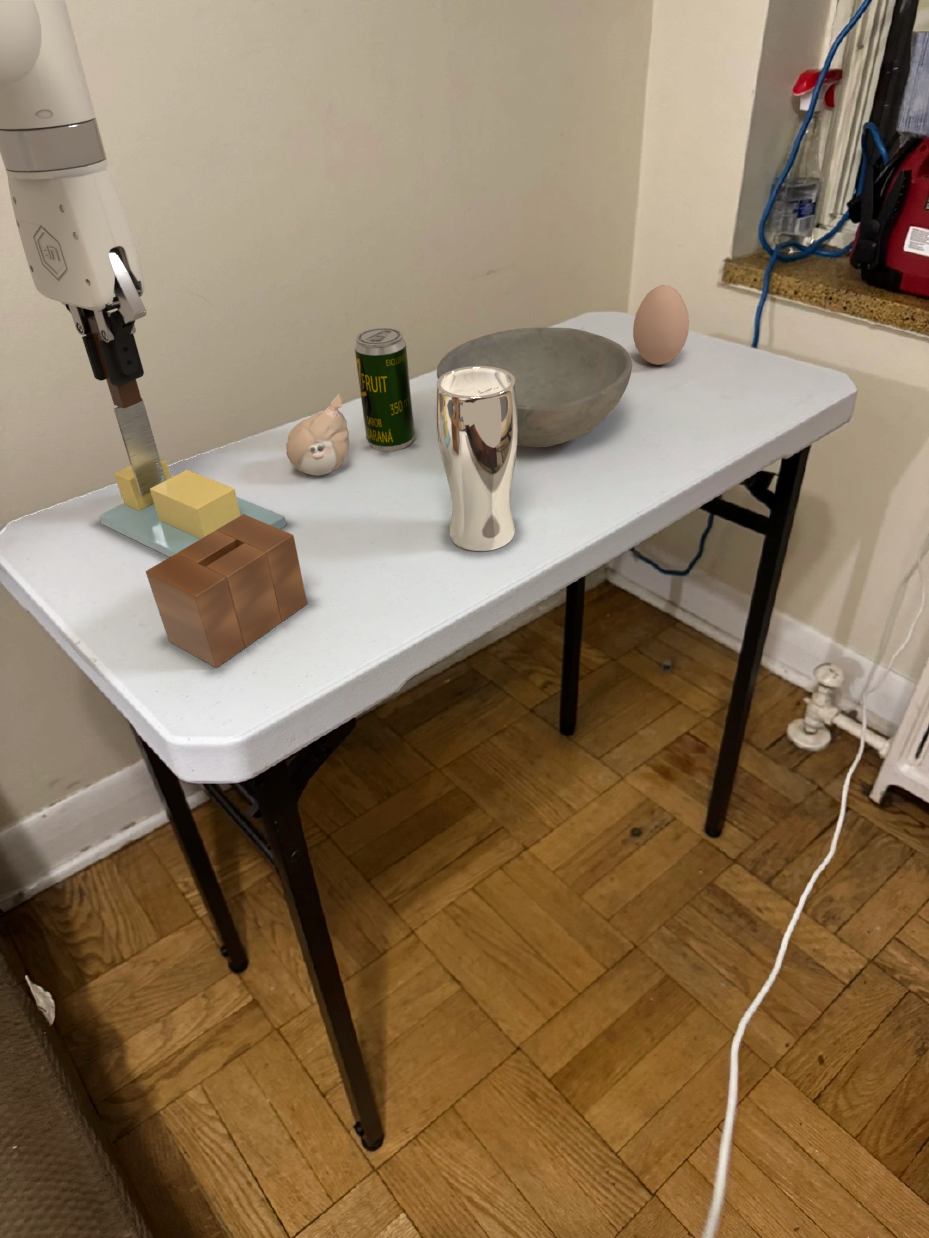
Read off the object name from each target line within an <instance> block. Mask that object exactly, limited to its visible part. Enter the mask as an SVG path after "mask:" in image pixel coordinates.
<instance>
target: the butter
mask: <svg viewBox="0 0 929 1238" xmlns="http://www.w3.org/2000/svg"><path fill="white" fill-rule="evenodd" d="M150 492H151V495H152V498H153V501H154V504H155V508H156V511H157V514H158V517H159V520H160V521H162V522H165V523H167V524H169V525H171V526H173V527H176V528H178V529H180V530H182V531H184V532H187V533H189V534H191V535H193V536H195V537H197V538H200V539H202V538H203V537H205V536H207V535H209V534H210V533H212V532H214V531H216V530H217V529H219V528H220V527H222V526H224V525H226V524H227V523H229V522H231V521H233V520H234V519H236V518H238V517H239V516H241V514H240V510H239V506H238V502H237V498H236V497H237V494H236V489H235V487H232V486H229V485H227V484H225V483H222V482H219V481H217V480H214V479H212V478H209V477H207V476H204V475H201V474H199V473H198V472H194V471H192V470H189V469H185V470H183V471H182V472H180V473H177V474H176V475H174V476H171V478H170V479H168V480H166V481H164V482H162V483H160V484H158V485H156V486H154V487H152V488H150Z"/></svg>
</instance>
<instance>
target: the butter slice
mask: <svg viewBox="0 0 929 1238" xmlns="http://www.w3.org/2000/svg"><path fill="white" fill-rule="evenodd" d="M160 461H161V465H162V468H163V472H164V475H165V479H166V480H168V479H170V478H172V476H171V472H170V468H169V465H168V462H167V461H166V460H163V459H162V458H160ZM113 475H114V479H115V481H116V484H117V487H118V490H119V493H120V496H121V499H122V503H124V504H125V505H127V506H129V507H132V508H134V509H136V510H138V511H140V510H142V509H144V508H145V507H147V506H149V505H151V504H153V503H154V501H153V498H152V495H151V492H149V493H147V494H145V495H143V496H141V495H140V493H139V490H138V486H137V483H136V480H135V477H134V473H133V470H132V467H131V465H128V466H126V467H125V468H122V469H120V470H118V471H116V472H114V473H113Z"/></svg>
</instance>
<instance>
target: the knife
mask: <svg viewBox="0 0 929 1238" xmlns="http://www.w3.org/2000/svg"><path fill="white" fill-rule="evenodd" d="M107 313H108V316H109V317H110V315H111V312H110V311H107ZM88 322H89V325H90V328H91V331H92V335H93V338H94V341H95V344H96V348H97V351H98V354H99V357H100V361H101V364H102V367H103V370H104V374H105V377H106V379H105V380H106V383H107V386H108V391H109V393H110V397H111V399H112V404H113V406H116V407H114V408H113V412H114V415H115V418H116V421H117V424H118V427H119V431H120V434H121V437H122V441H123V444H124V447H125V450H126V454H127V457H128V461H129V463H130V466H131V467H132V470H133V473H134V477H135V480H136V483H137V486H138V490H139V493H140V495H141V496H143V495H145V494H147V493H149V492H150V488H152V487H154V486H156V485H158V484H160V483H162V482H164V481H166V479H165V475H164V472H163V468H162V465H161V461H160V459H161V458H160V454H159V451H158V447H157V443H156V441H155V437H154V433H153V430H152V426H151V422H150V418H149V416H148V412H147V408H146V405H145V401H144V398H143V397H142V395H141V393H140V392H141V391H140V389H139V385H138V382H137V379H135V380H132V381H130V382H127V383H125V384H122V385H120V386H115V385H112V384H111V382H110V380H109V376H108V373H107V370H106V366H105V363H104V360H103V357H102V353H101V350H100V347H99V343H98V342H99V341H102V340H103V339H102V337H101V335H100V331H99V328H98V324H97V321H96V317H95V316H92V317H89V318H88Z"/></svg>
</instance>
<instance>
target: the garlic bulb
mask: <svg viewBox="0 0 929 1238" xmlns="http://www.w3.org/2000/svg"><path fill="white" fill-rule="evenodd" d="M342 400H343V399H342V396H341V395H340V393H338V394H337V395H336V396H335V397H334V399H333V400H332V401H331V402H330V404H329V406H327V407H326V408H325V409H324V410H322V411H321V412H318V413H317V412H316V413H313V414H312V415H311V416H310V417H307V418H305V419H303V420H301V421H299V422H298V423H297V424H296V425H294V426H293V428H292V429H291V430H290V432H289V434H288V436H287V442H286V445H285V449H286V450H285V451H286V457H287V459H288V461H289V462H290V463H291V465H293V467H294V468H295V469H297V470H298V471H299V472H301V473H304V474H307V475H311V476H325V475H327V474H330V473H332V472H334V471H335V470H336V469H338V468H339V467H340V466H342V464H343V463H344V461H345V460H346V458H347V456H348V454H349V449H350V437H349V435H350V432H349V429H348V422H347V419H346V418H345V416H344V414H343V413H342V412H341V411H340V410H339V409H341V408H343V401H342Z"/></svg>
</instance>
